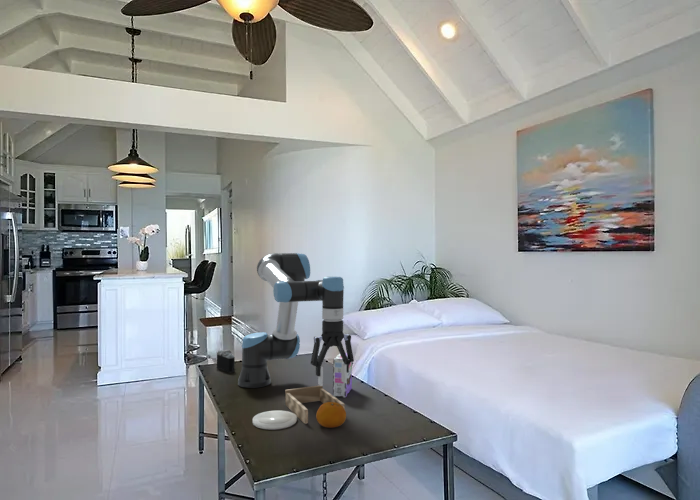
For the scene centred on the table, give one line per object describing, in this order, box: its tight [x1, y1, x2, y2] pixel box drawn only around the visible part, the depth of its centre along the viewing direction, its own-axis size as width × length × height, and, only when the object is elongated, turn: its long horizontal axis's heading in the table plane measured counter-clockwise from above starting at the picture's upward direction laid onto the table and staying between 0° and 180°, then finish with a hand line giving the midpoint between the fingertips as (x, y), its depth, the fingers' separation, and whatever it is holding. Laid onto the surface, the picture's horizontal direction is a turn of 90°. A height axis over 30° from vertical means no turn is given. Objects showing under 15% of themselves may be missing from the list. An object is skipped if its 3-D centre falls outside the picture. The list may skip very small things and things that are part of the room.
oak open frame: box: [284, 384, 346, 425], centre depth 180 cm, size 23×16×6 cm
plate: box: [252, 409, 298, 431], centre depth 168 cm, size 16×16×1 cm
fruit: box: [315, 402, 347, 429], centre depth 164 cm, size 10×10×8 cm
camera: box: [216, 349, 236, 373], centre depth 243 cm, size 15×7×10 cm, turn 44°
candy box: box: [332, 352, 353, 398], centre depth 203 cm, size 14×6×16 cm, turn 168°
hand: (332, 383), depth 163 cm, fingers open, 8 cm apart
